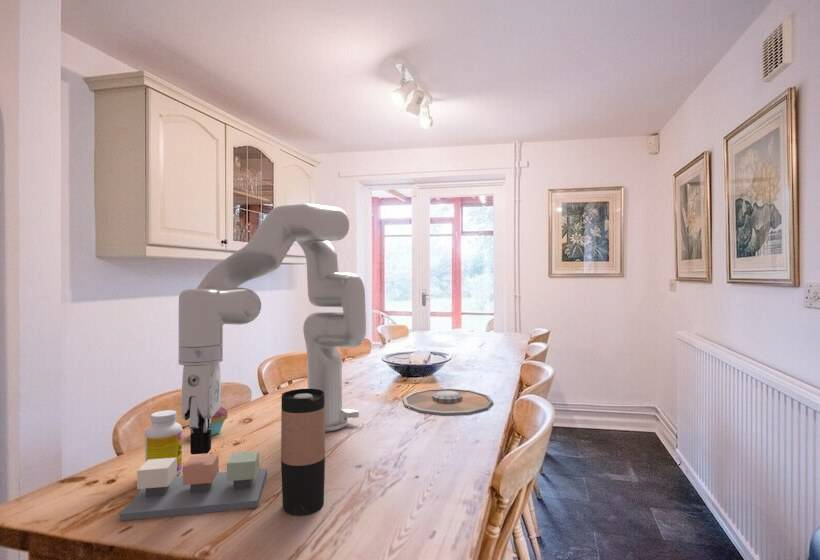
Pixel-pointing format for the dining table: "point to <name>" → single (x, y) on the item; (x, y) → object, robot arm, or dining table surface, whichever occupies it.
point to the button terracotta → (200, 469)
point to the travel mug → (303, 451)
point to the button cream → (156, 473)
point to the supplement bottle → (164, 438)
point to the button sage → (242, 466)
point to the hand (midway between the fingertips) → (200, 452)
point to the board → (196, 497)
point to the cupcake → (218, 420)
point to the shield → (447, 401)
